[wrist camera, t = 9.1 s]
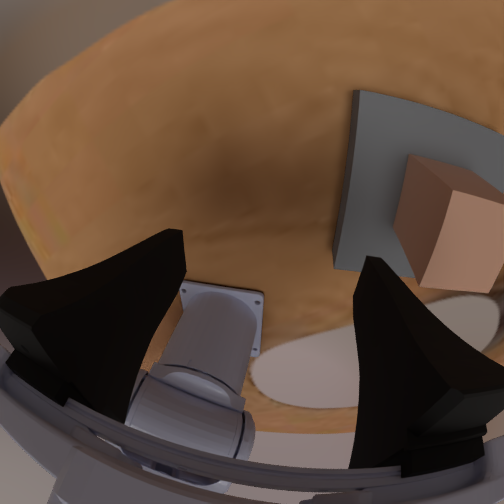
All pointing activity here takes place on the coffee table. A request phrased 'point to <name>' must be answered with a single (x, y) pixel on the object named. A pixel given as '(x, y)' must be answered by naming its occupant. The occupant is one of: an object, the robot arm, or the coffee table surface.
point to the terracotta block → (450, 226)
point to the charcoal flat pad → (400, 170)
